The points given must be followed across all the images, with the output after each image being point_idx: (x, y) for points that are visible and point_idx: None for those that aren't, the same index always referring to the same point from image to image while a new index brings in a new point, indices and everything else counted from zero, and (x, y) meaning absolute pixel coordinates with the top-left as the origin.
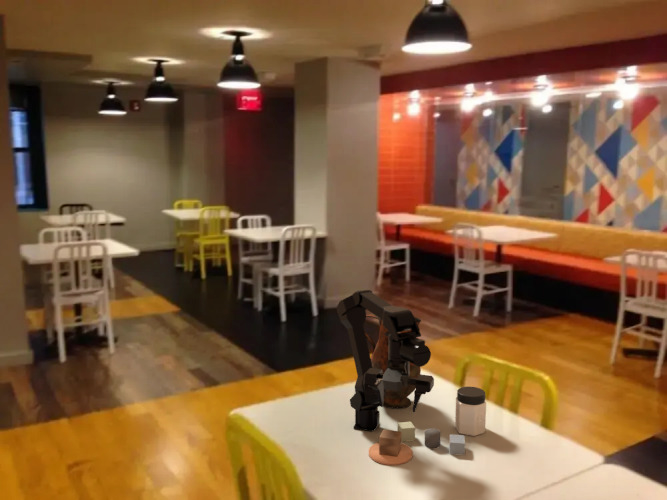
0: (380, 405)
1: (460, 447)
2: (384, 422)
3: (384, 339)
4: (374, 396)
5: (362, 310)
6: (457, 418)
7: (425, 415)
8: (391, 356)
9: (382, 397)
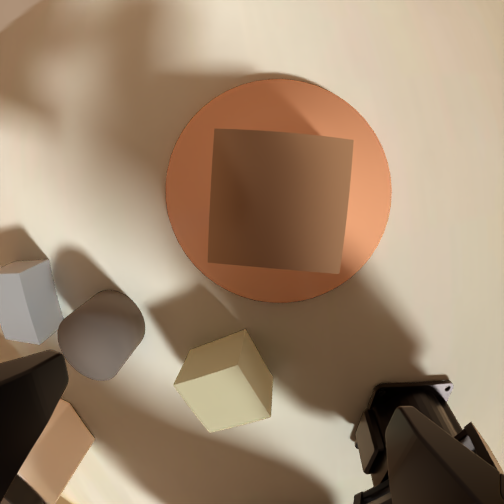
0: (419, 413)
1: (5, 269)
2: (334, 450)
3: None
4: None
5: None
6: (64, 445)
7: (200, 493)
8: None
9: (417, 498)
